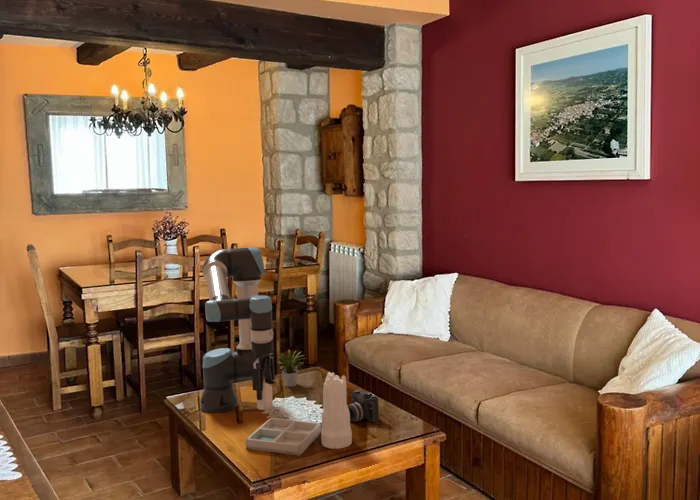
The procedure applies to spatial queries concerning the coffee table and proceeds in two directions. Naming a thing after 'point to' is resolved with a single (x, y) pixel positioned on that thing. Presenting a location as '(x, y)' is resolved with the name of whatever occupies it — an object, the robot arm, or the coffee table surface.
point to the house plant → (290, 368)
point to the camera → (364, 406)
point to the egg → (267, 396)
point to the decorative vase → (335, 414)
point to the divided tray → (284, 436)
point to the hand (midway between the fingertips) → (264, 404)
